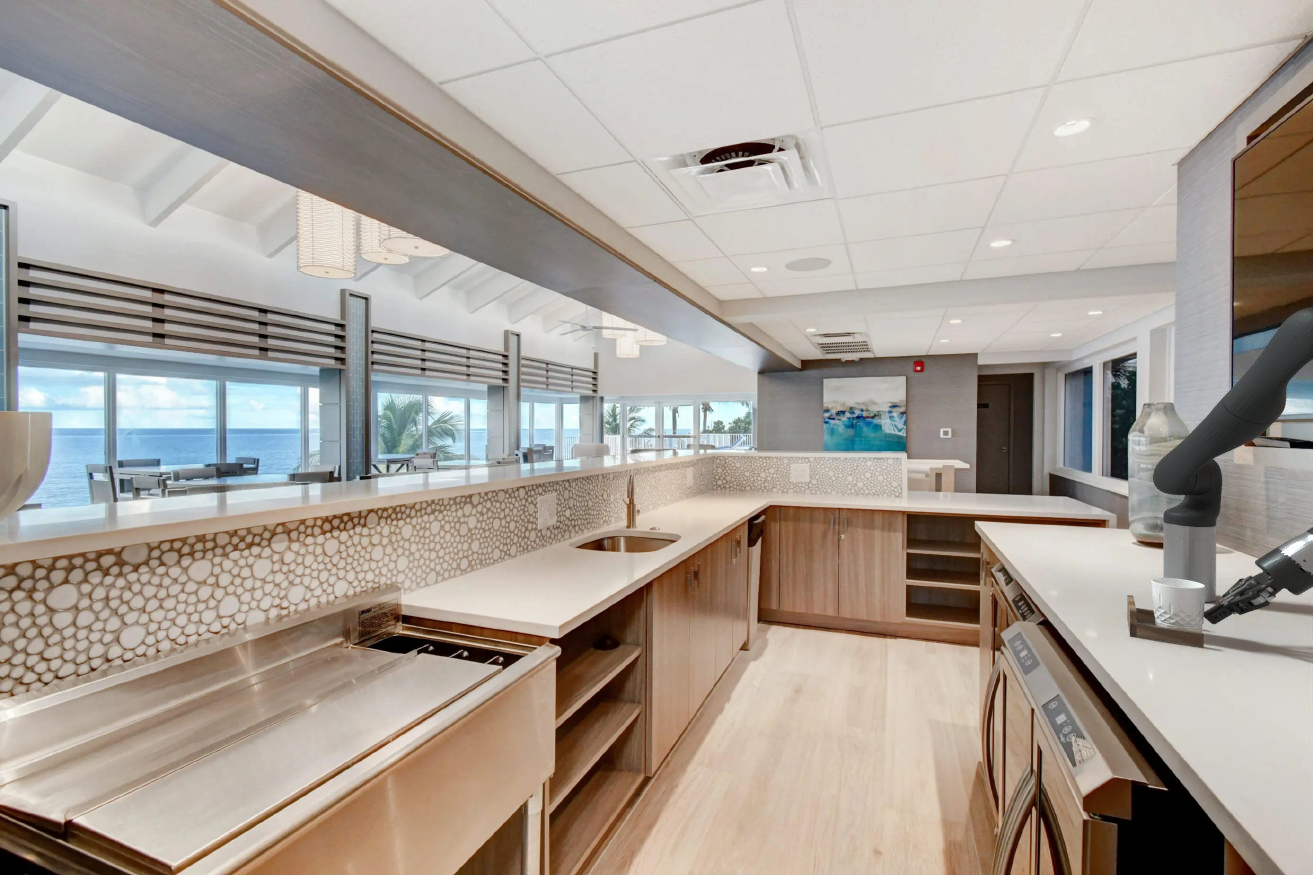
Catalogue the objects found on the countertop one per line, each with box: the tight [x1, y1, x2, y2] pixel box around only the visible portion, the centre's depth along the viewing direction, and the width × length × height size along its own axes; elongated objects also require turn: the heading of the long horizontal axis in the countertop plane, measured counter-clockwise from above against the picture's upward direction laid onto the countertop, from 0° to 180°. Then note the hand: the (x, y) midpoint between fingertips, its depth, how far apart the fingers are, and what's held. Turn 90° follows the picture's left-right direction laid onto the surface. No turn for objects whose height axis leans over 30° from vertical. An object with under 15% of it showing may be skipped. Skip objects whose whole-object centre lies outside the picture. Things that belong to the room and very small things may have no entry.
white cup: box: [1150, 577, 1206, 633], centre depth 114 cm, size 8×8×10 cm
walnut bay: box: [1126, 594, 1205, 649], centre depth 115 cm, size 13×10×5 cm
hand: (1207, 619), depth 111 cm, fingers closed
